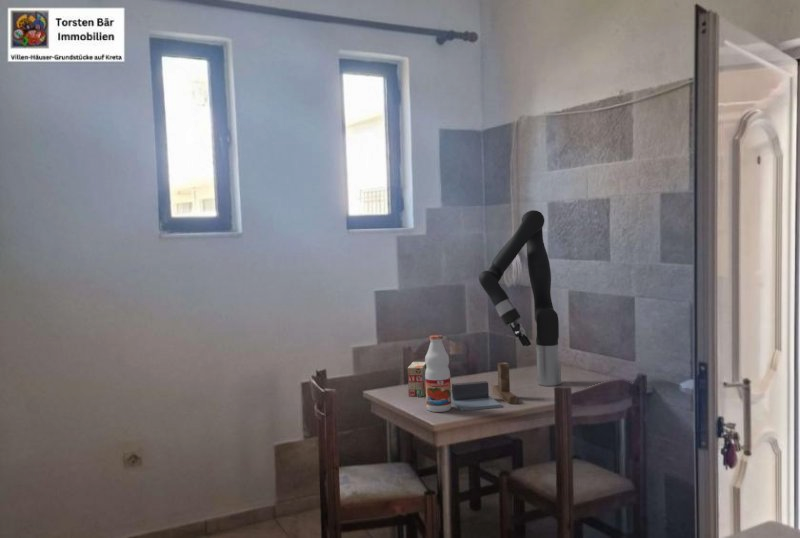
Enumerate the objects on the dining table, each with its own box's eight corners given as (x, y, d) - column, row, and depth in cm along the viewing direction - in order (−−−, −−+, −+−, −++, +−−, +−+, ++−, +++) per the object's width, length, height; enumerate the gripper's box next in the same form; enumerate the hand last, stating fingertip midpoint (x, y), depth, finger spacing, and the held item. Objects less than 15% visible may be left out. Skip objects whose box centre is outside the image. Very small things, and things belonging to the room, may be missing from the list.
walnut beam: (499, 392, 259) (498, 358, 258) (517, 403, 239) (516, 367, 238) (491, 392, 258) (490, 359, 257) (509, 404, 238) (507, 368, 238)
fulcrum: (479, 391, 260) (479, 375, 260) (501, 407, 235) (500, 388, 234) (442, 394, 257) (442, 378, 257) (460, 410, 232) (459, 392, 231)
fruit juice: (449, 405, 240) (447, 333, 239) (452, 411, 231) (450, 336, 230) (425, 406, 240) (422, 334, 239) (427, 413, 230) (424, 338, 229)
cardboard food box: (417, 385, 278) (416, 357, 277) (431, 385, 277) (430, 357, 276) (408, 396, 257) (407, 367, 257) (423, 396, 256) (422, 367, 255)
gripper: (512, 306, 257) (532, 340, 253) (518, 308, 271) (537, 341, 266) (496, 315, 259) (516, 349, 254) (503, 317, 272) (522, 349, 268)
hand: (527, 345), depth 260 cm, fingers open, 8 cm apart
